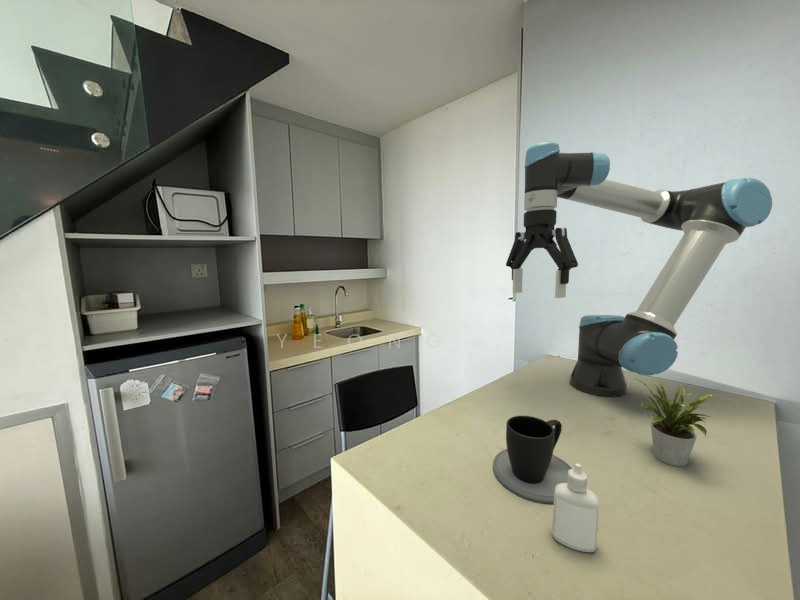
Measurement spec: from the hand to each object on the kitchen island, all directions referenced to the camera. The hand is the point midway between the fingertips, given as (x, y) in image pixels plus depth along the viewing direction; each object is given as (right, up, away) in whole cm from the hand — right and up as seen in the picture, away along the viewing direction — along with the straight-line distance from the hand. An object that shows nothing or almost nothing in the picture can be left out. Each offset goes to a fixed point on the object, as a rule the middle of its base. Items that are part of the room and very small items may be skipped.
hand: (537, 295), depth 82 cm
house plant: (+19, -34, -17) cm, 42 cm away
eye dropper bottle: (-10, -37, -36) cm, 52 cm away
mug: (-10, -34, -22) cm, 41 cm away
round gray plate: (-10, -35, -21) cm, 42 cm away
